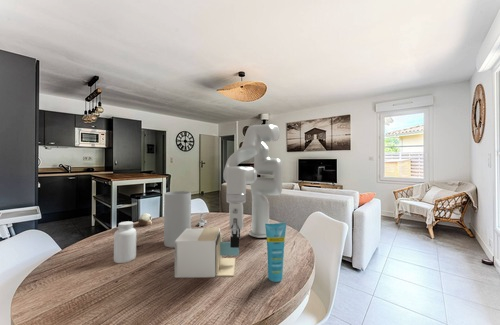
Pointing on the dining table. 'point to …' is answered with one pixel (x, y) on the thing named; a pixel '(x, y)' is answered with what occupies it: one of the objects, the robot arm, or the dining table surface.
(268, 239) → the tube
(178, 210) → the cylinder vase
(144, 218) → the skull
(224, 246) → the door
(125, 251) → the pill bottle
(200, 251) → the carton
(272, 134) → the robot arm
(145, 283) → the dining table surface
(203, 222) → the house of cards
